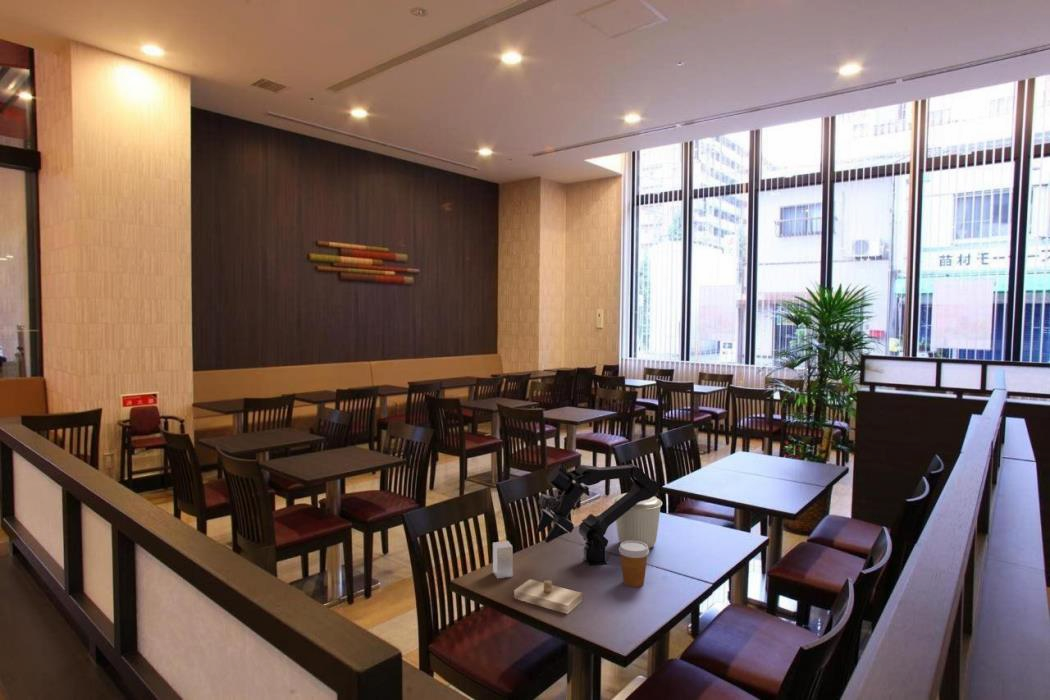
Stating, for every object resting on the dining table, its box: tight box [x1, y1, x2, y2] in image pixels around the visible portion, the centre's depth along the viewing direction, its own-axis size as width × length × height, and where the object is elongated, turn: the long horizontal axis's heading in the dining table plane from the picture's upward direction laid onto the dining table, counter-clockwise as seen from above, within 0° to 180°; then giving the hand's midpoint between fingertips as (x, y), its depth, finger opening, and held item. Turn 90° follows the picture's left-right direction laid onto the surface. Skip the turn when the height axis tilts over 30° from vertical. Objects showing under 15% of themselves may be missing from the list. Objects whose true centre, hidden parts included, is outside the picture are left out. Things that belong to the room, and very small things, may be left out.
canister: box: [611, 492, 663, 550], centre depth 220 cm, size 18×18×21 cm
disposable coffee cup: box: [618, 541, 650, 588], centre depth 188 cm, size 10×10×12 cm
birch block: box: [513, 578, 583, 615], centre depth 177 cm, size 18×9×6 cm, turn 58°
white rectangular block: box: [492, 540, 514, 580], centre depth 195 cm, size 5×5×10 cm
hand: (541, 536), depth 199 cm, fingers open, 9 cm apart
